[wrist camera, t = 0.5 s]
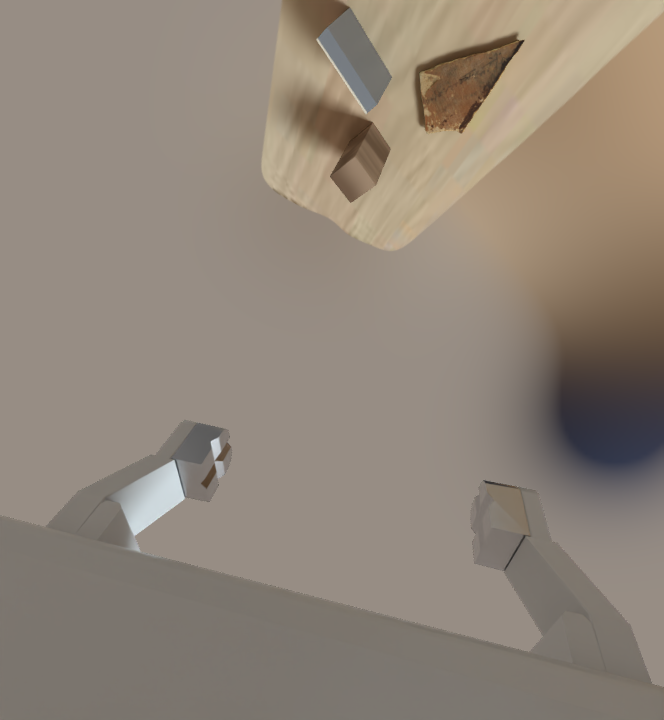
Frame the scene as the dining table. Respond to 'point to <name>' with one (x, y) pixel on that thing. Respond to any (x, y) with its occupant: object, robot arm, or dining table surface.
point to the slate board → (355, 59)
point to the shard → (461, 87)
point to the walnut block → (361, 163)
